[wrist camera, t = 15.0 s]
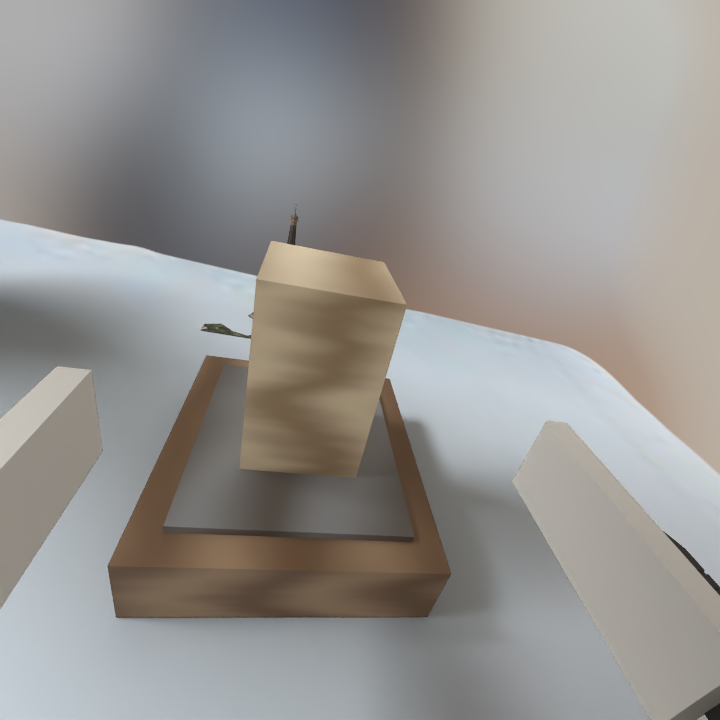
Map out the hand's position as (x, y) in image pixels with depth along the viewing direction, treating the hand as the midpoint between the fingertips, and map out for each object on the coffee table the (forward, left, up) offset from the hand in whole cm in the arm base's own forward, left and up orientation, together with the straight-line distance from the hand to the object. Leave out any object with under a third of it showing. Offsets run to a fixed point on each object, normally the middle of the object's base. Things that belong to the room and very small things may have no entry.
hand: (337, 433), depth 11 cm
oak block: (0, +9, -8) cm, 12 cm away
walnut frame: (0, +9, -12) cm, 15 cm away
